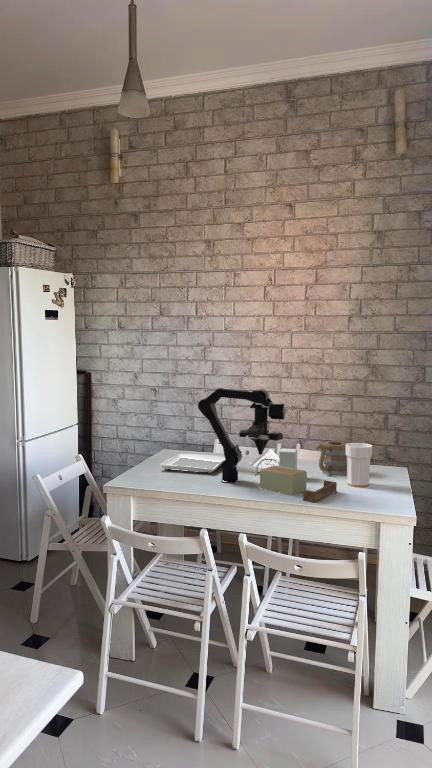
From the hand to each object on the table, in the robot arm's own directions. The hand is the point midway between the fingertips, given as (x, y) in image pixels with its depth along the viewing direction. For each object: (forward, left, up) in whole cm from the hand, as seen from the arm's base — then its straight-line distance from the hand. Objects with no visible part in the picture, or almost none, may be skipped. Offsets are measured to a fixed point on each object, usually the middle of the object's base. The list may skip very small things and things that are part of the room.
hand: (260, 454), depth 243 cm
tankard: (+32, +23, -13) cm, 42 cm away
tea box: (+10, -8, -13) cm, 18 cm away
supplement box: (+12, +13, -13) cm, 22 cm away
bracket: (+25, -16, -13) cm, 32 cm away
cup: (+42, +4, -13) cm, 44 cm away
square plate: (-33, +28, -14) cm, 45 cm away
